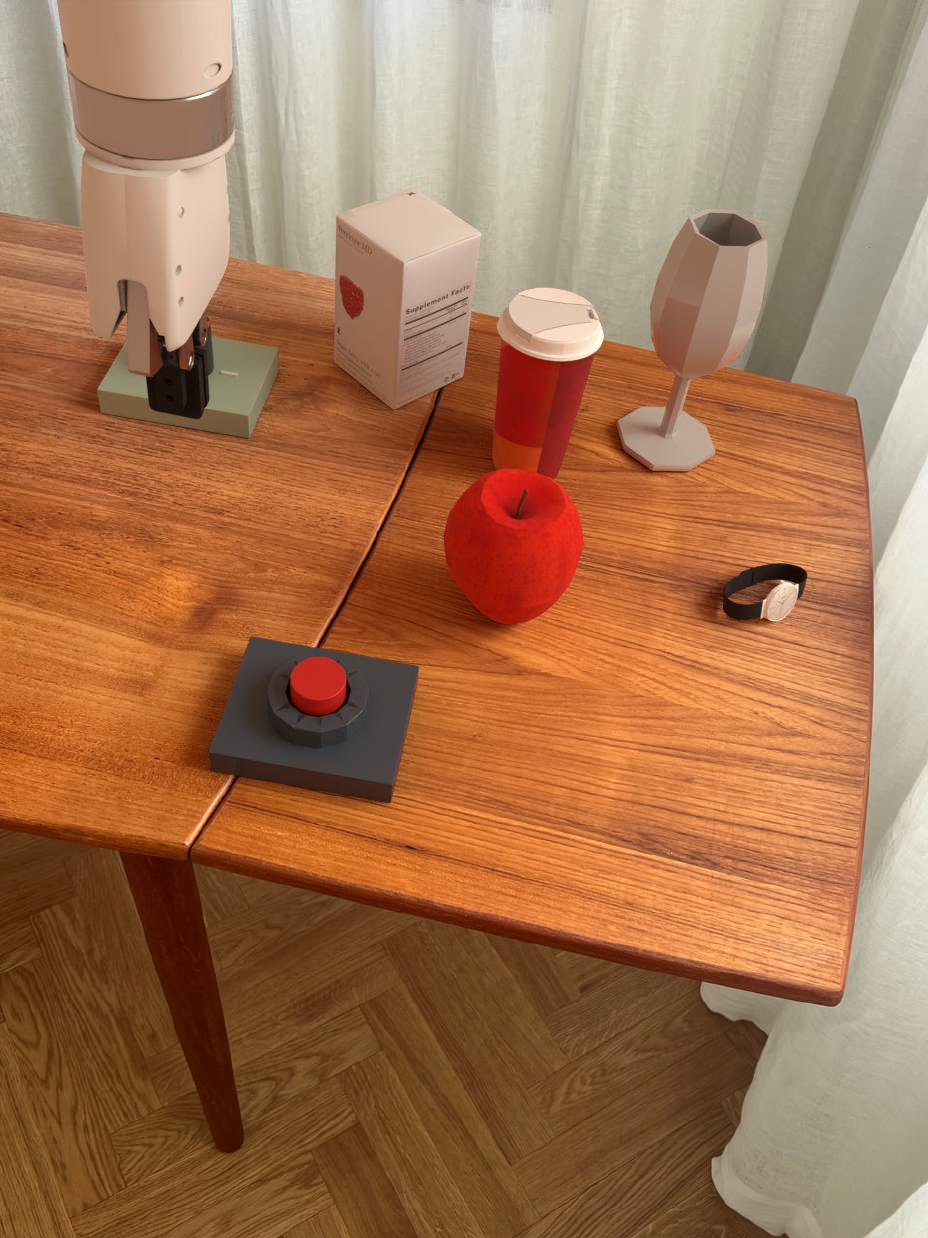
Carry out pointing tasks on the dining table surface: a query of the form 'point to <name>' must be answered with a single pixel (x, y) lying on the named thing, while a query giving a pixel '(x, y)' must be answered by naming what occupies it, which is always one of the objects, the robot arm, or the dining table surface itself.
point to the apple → (513, 544)
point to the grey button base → (316, 723)
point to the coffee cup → (542, 377)
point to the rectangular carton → (403, 295)
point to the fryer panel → (232, 389)
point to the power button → (318, 686)
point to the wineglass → (698, 329)
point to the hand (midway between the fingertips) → (179, 406)
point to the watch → (777, 599)
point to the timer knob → (209, 348)
